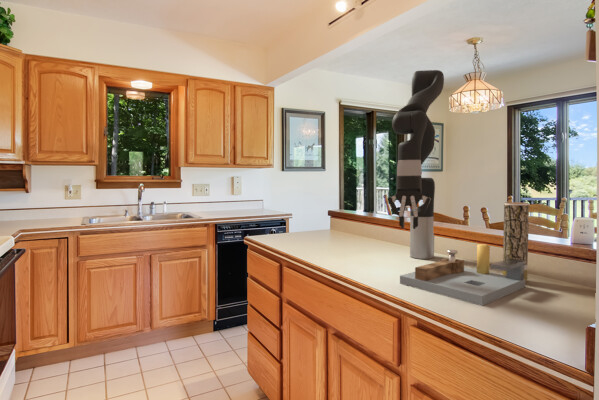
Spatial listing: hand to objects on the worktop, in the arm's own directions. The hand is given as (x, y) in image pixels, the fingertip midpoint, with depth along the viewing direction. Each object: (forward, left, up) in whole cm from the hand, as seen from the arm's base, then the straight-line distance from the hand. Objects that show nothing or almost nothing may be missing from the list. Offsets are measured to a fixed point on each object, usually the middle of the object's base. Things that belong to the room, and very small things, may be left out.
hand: (408, 228), depth 119 cm
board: (-8, +13, -17) cm, 23 cm away
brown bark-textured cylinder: (-26, +21, -17) cm, 38 cm away
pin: (-18, +15, -15) cm, 28 cm away
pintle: (-13, +7, -17) cm, 23 cm away
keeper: (-14, +24, -17) cm, 33 cm away
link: (-6, +7, -15) cm, 17 cm away
